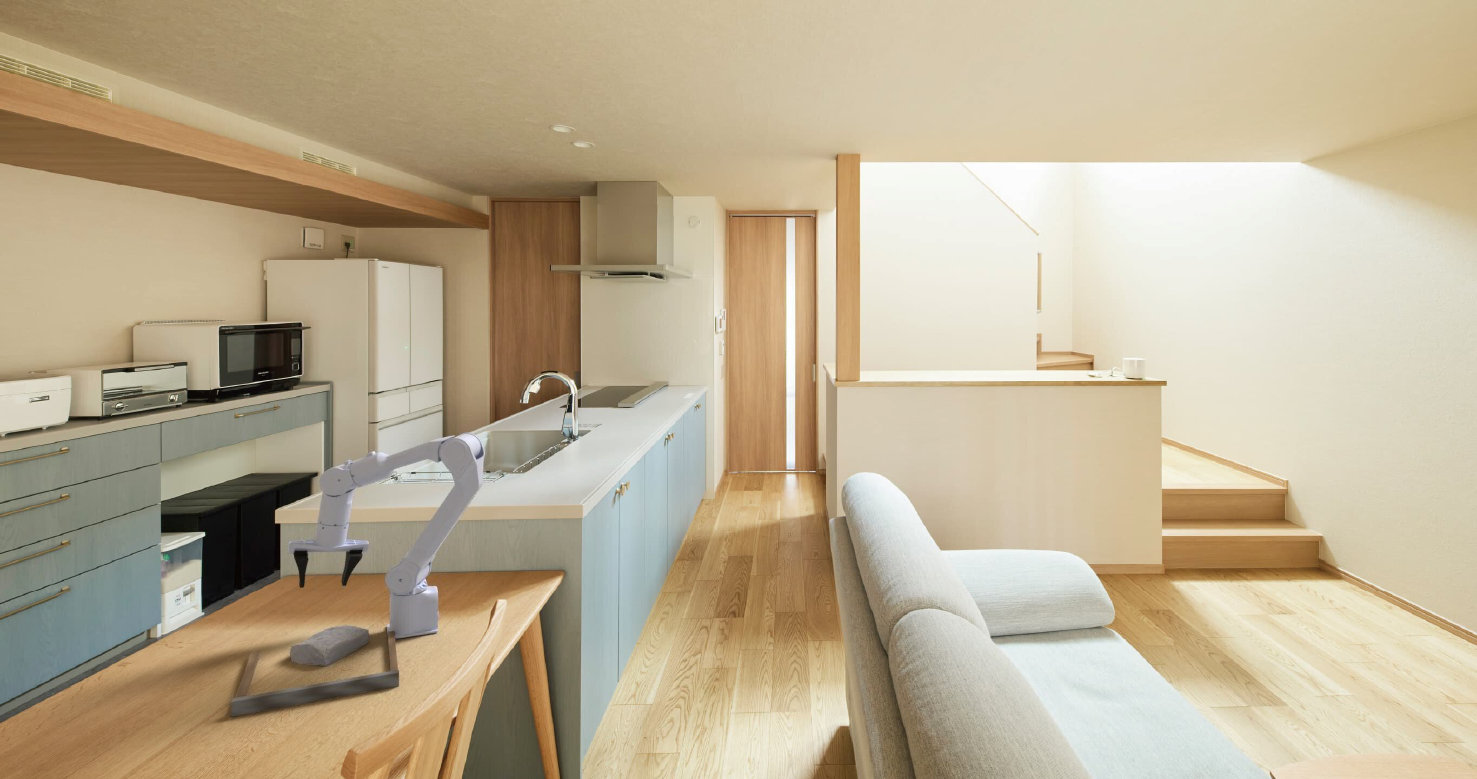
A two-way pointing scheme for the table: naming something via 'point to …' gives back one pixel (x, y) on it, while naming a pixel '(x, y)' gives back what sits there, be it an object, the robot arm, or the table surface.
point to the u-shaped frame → (311, 687)
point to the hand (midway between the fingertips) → (322, 585)
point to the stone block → (329, 645)
